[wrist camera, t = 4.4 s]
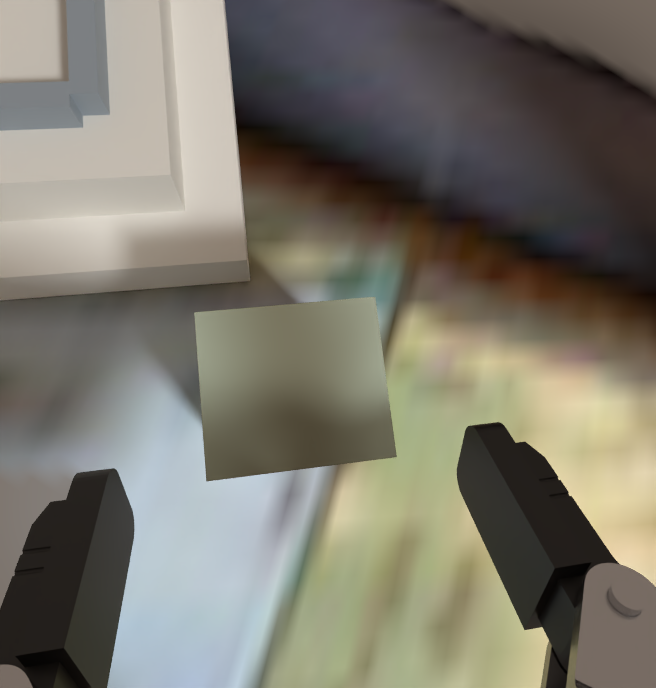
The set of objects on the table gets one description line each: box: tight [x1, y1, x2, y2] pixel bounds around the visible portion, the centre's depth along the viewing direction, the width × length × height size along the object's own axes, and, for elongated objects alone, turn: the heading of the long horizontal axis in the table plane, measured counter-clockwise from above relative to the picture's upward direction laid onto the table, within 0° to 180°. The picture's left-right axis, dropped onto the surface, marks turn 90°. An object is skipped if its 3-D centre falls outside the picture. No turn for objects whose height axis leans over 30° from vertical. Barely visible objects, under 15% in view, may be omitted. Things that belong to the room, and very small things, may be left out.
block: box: [194, 297, 397, 481], centre depth 15 cm, size 4×4×8 cm
